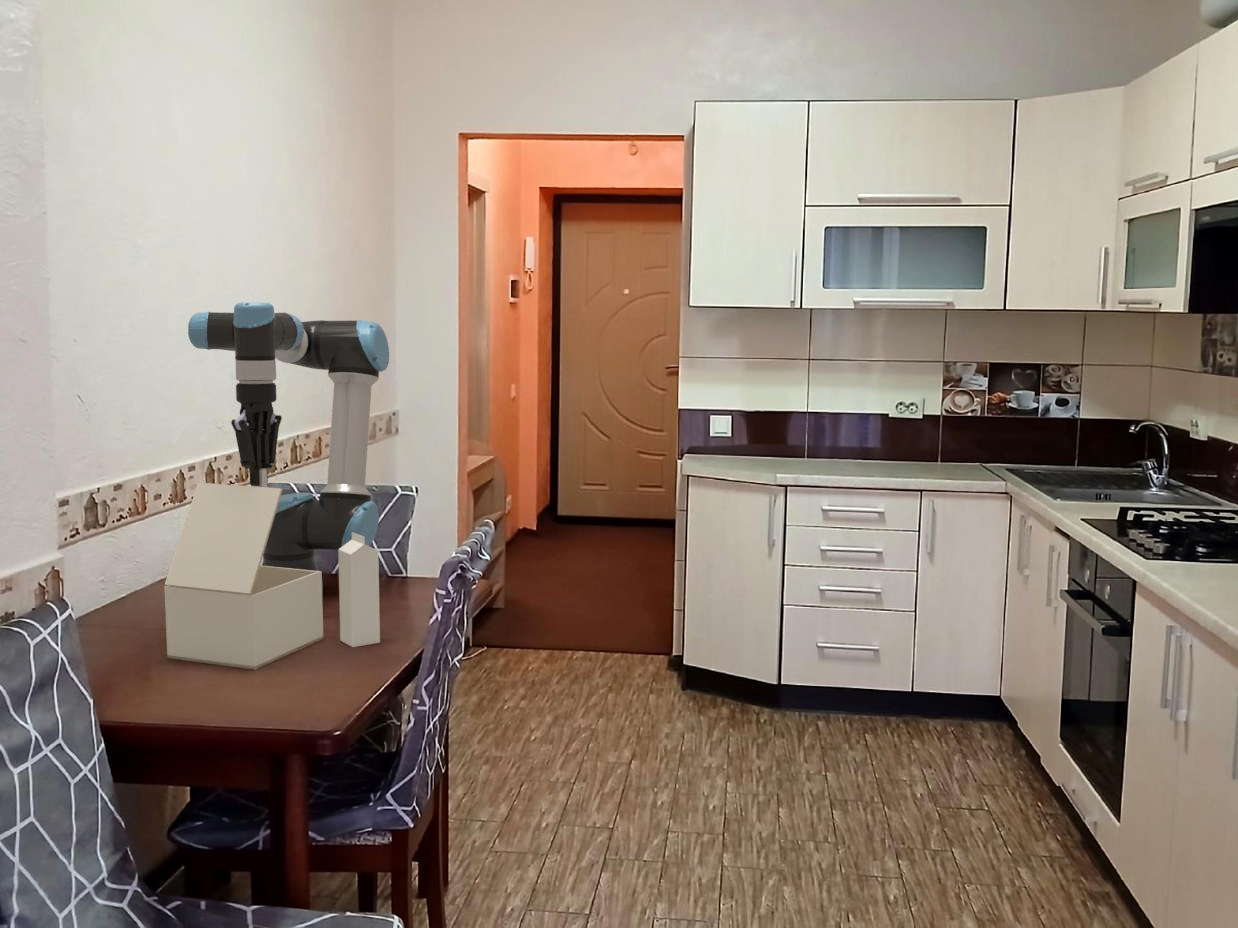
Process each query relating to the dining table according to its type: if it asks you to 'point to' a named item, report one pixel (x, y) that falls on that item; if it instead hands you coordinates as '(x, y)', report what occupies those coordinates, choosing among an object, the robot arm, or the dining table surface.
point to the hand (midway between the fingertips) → (259, 501)
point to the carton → (246, 619)
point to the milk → (359, 593)
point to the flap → (224, 537)
